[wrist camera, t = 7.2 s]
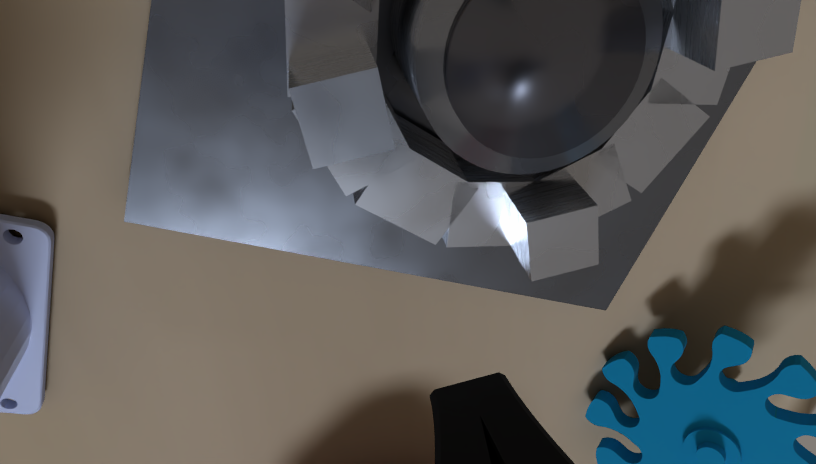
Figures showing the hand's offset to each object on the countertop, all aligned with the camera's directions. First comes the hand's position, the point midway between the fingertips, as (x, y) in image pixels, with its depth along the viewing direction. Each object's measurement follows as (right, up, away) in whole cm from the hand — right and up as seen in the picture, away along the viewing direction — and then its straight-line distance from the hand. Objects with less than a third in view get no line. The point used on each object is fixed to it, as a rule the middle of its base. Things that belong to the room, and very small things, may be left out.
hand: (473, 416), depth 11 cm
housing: (+1, +10, +6) cm, 11 cm away
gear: (+10, -3, +16) cm, 19 cm away
